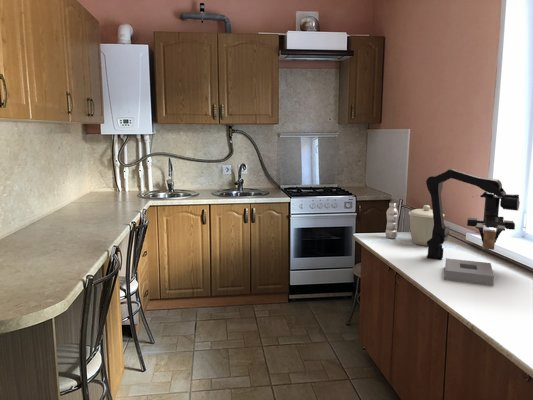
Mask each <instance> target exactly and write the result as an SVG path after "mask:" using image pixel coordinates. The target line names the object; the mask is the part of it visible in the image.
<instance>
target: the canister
mask: <svg viewBox="0 0 533 400" xmlns="http://www.w3.org/2000/svg"><path fill="white" fill-rule="evenodd" d="M408 215H409V228H410V237H411V238H410V239H411V241H412V243H413V244H415V245H418V246H424V247H428V245H427V241H428V240H430V239H431V238H432V231H433V227H434V220H433V210H432V208H431V206H430V205H428V204H424V205H423V207H422V208H416V209H412V210H410V211H408ZM445 216H446V214H444V213H443V218H444V217H445Z"/></svg>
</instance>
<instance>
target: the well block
mask: <svg viewBox="0 0 533 400" xmlns="http://www.w3.org/2000/svg"><path fill="white" fill-rule="evenodd" d="M444 263H445V265H444V281H445V280H446V281H452V282H453V281H454V282H461V283H469V284H470V283H471V284H478V285H483V286H494V281H495V274H494V270H493V267H492V264H491V262H485V261H474V260H467V259H466V260H465V259H459V258H458V259H456V258H447V257H446V258H445V262H444Z"/></svg>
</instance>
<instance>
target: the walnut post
mask: <svg viewBox="0 0 533 400" xmlns="http://www.w3.org/2000/svg"><path fill="white" fill-rule="evenodd" d="M495 234H496V229H487V228H483V238H484V239H483V242H482V249H483V250H493V251H495V244H496V242H495Z"/></svg>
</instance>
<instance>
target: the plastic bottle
mask: <svg viewBox="0 0 533 400" xmlns="http://www.w3.org/2000/svg"><path fill="white" fill-rule="evenodd" d="M388 204H389V205H388V206H389V207H388V208H387V210H386V229H385V232H384V233H385V236H386V238H388V239H396V238H397V237H398V226H397V225H398V217H399V211H398V208H397V202H389V203H388Z"/></svg>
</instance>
